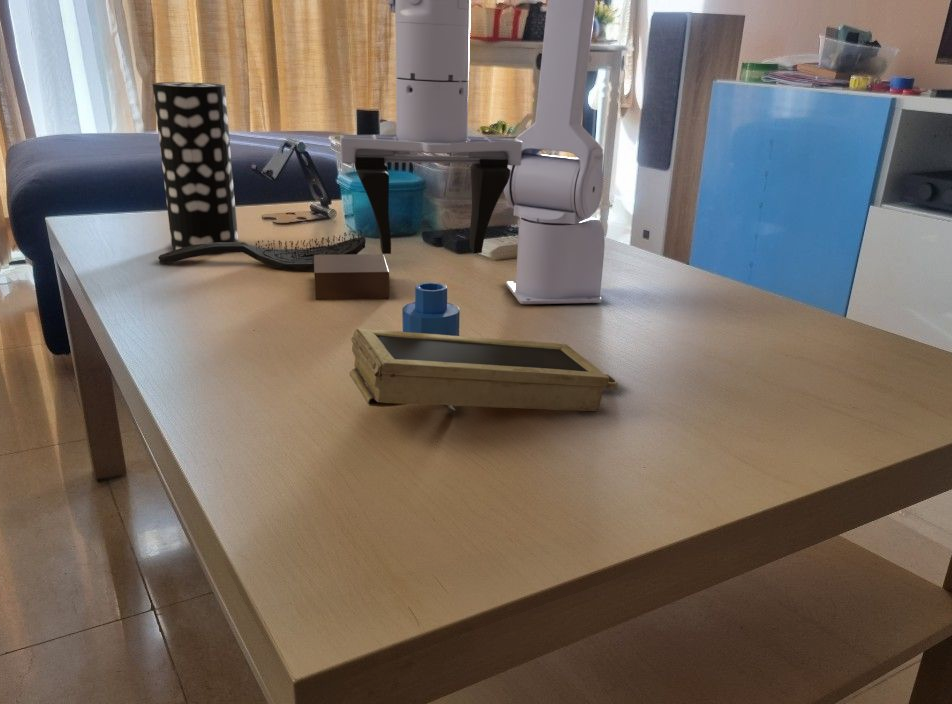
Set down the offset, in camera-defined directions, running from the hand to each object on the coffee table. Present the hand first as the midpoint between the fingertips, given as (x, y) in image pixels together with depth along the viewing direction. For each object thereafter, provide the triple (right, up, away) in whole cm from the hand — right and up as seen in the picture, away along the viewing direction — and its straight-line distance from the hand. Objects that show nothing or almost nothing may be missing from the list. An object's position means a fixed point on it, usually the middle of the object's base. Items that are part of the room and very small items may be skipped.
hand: (431, 250), depth 71 cm
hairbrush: (-24, +4, +33) cm, 41 cm away
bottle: (0, -9, +4) cm, 10 cm away
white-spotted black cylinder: (-33, +8, +39) cm, 52 cm away
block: (-11, 0, +24) cm, 27 cm away
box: (+6, -13, -4) cm, 15 cm away
